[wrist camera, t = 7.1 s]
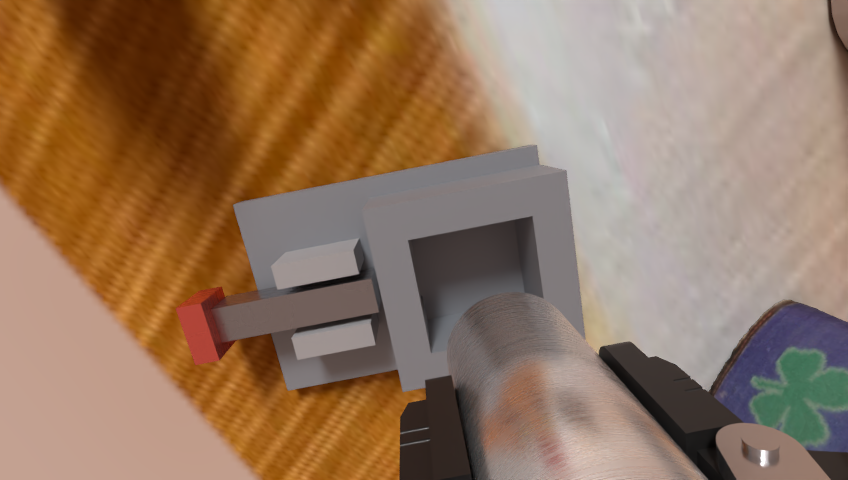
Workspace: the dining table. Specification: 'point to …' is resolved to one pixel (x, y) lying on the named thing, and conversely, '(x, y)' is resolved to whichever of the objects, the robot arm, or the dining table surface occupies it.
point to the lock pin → (272, 311)
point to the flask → (791, 376)
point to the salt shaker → (549, 401)
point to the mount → (414, 258)
